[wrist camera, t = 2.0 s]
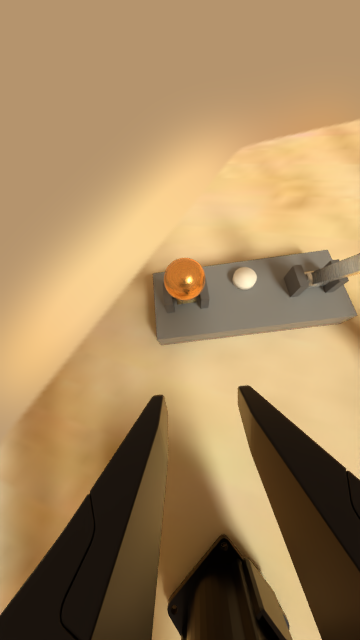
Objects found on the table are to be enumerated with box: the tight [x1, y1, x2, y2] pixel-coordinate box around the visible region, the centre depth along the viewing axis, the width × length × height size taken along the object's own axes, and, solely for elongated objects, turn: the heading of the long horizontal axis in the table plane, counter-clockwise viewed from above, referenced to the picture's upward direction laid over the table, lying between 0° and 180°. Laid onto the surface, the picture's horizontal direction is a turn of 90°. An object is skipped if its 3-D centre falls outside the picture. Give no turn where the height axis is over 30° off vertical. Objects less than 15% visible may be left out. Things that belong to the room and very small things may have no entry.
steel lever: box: [304, 253, 360, 288], centre depth 15 cm, size 3×3×10 cm
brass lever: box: [164, 258, 206, 305], centre depth 16 cm, size 3×3×10 cm
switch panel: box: [153, 250, 357, 345], centre depth 21 cm, size 20×8×5 cm, turn 96°
